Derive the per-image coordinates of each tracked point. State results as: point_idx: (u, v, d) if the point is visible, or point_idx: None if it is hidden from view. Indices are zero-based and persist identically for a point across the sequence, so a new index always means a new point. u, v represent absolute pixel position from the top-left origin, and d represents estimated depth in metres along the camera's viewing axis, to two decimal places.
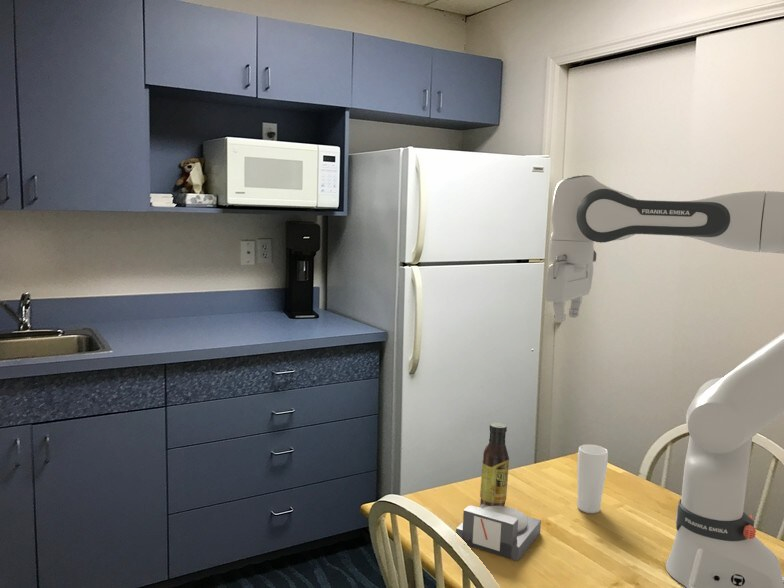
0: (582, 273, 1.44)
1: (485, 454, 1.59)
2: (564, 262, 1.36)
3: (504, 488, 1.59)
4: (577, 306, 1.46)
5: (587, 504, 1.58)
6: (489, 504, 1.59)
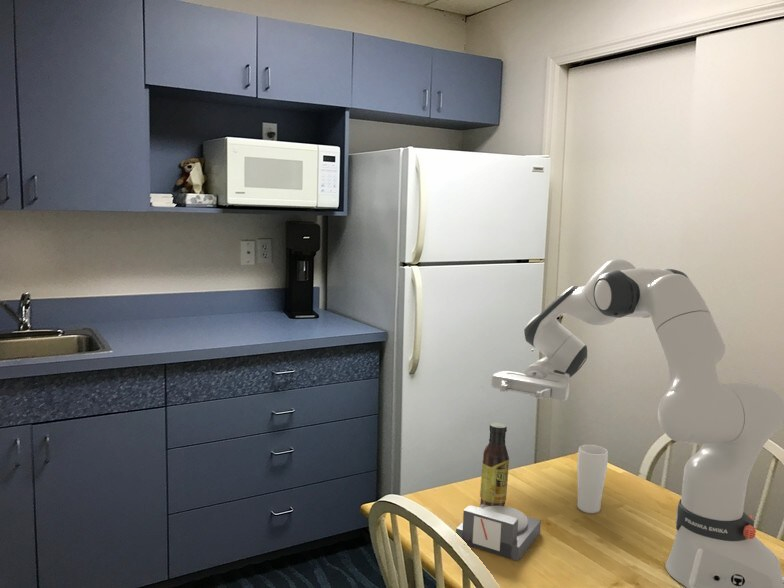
0: (547, 380, 1.77)
1: (485, 454, 1.59)
2: None
3: (504, 488, 1.59)
4: None
5: (587, 504, 1.58)
6: (489, 504, 1.59)
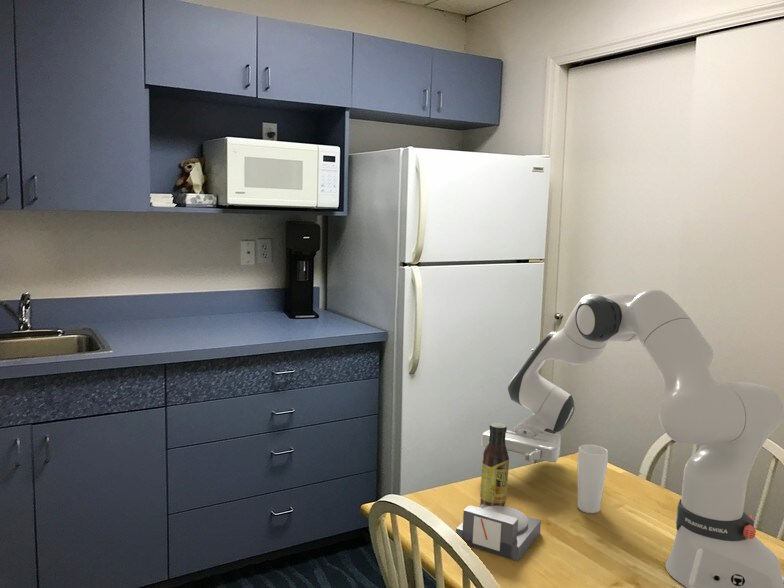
0: (538, 440, 1.74)
1: (485, 454, 1.59)
2: None
3: (504, 488, 1.59)
4: None
5: (587, 504, 1.58)
6: (489, 504, 1.59)
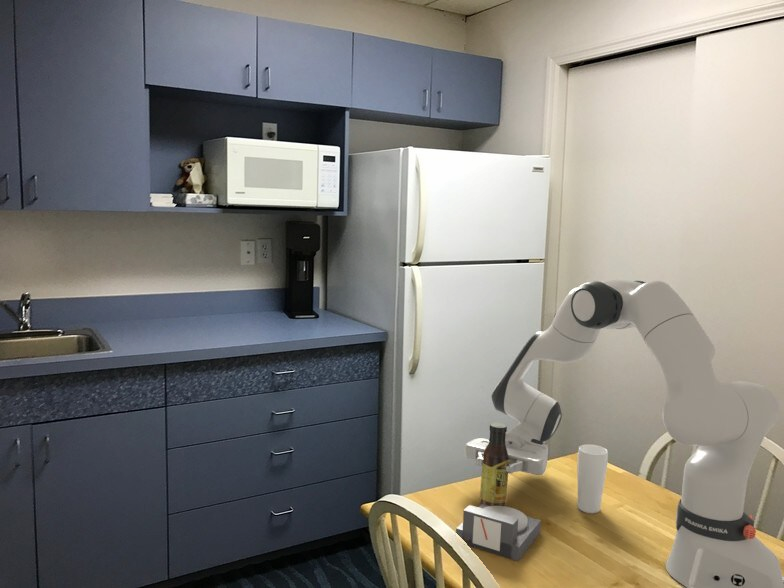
0: (524, 451, 1.66)
1: (485, 454, 1.59)
2: None
3: (504, 488, 1.59)
4: None
5: (587, 504, 1.58)
6: (489, 504, 1.59)
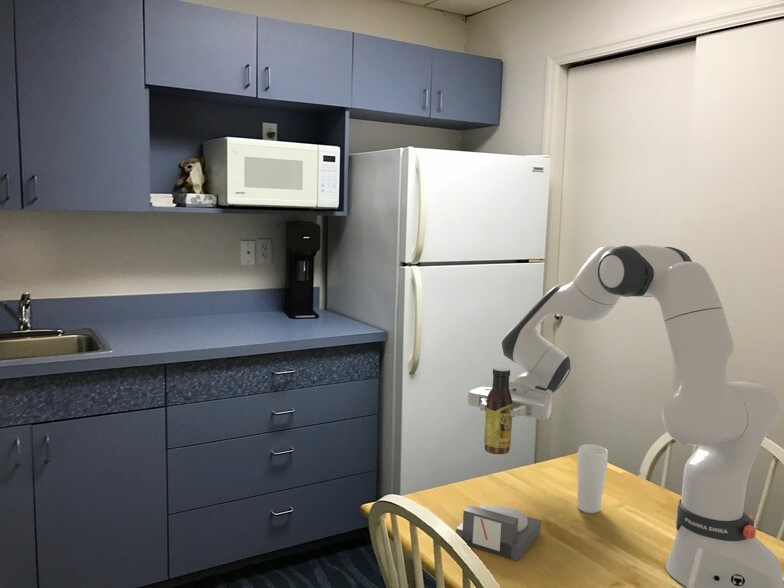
0: (528, 397, 1.63)
1: (489, 399, 1.57)
2: None
3: (508, 433, 1.56)
4: None
5: (587, 504, 1.58)
6: (493, 449, 1.56)
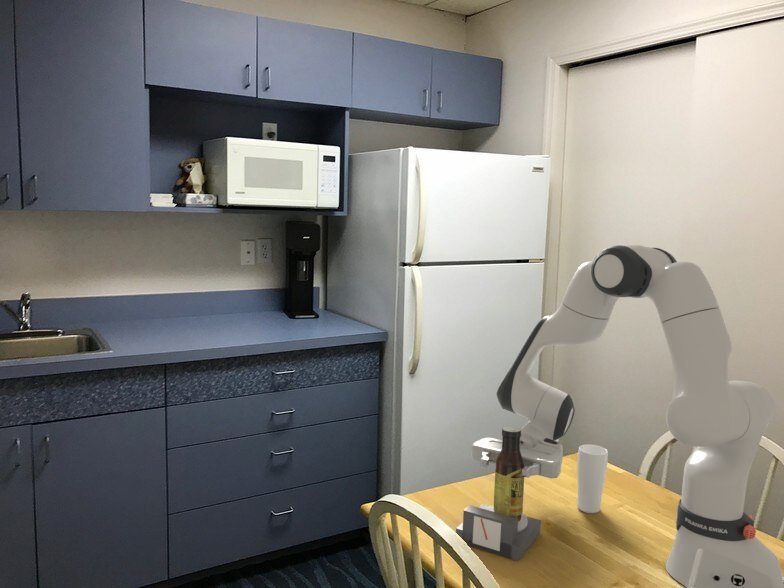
0: (536, 451, 1.51)
1: (498, 462, 1.44)
2: None
3: (520, 500, 1.43)
4: None
5: (587, 504, 1.58)
6: None
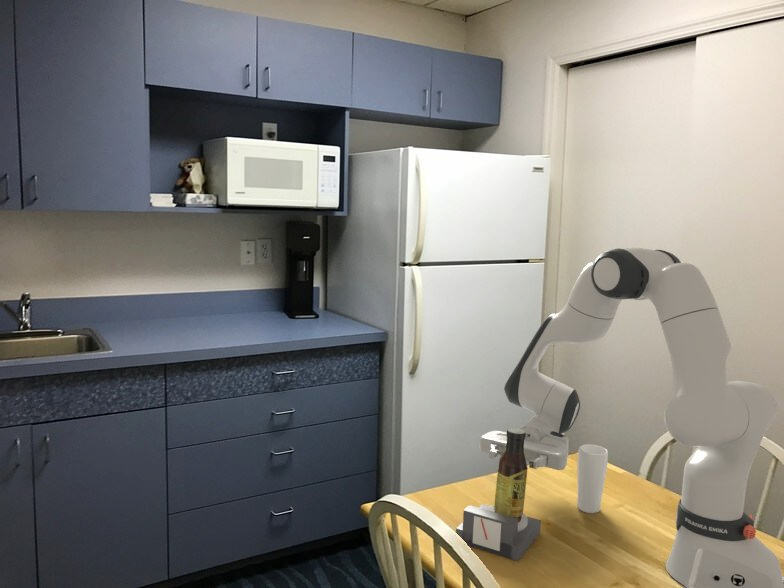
0: (543, 444, 1.55)
1: (501, 463, 1.44)
2: None
3: (521, 501, 1.43)
4: None
5: (587, 504, 1.58)
6: None
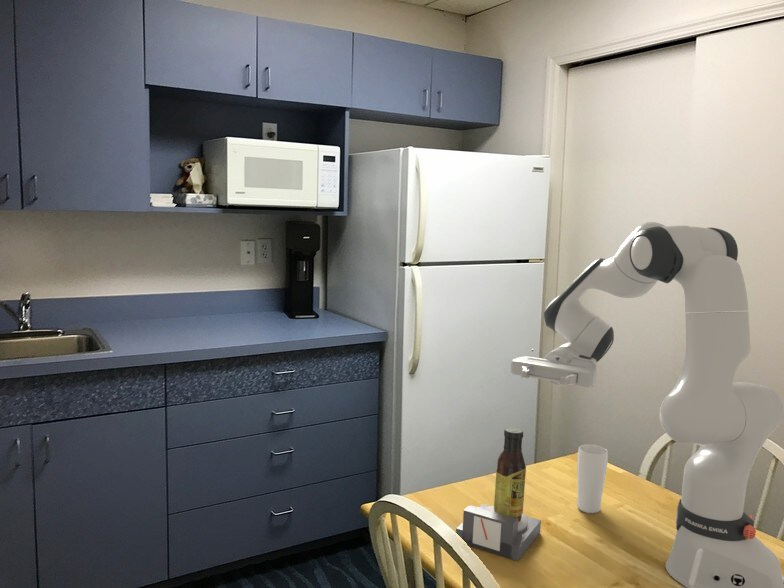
0: (572, 366, 1.62)
1: (499, 462, 1.44)
2: None
3: (520, 500, 1.43)
4: None
5: (587, 504, 1.58)
6: None
